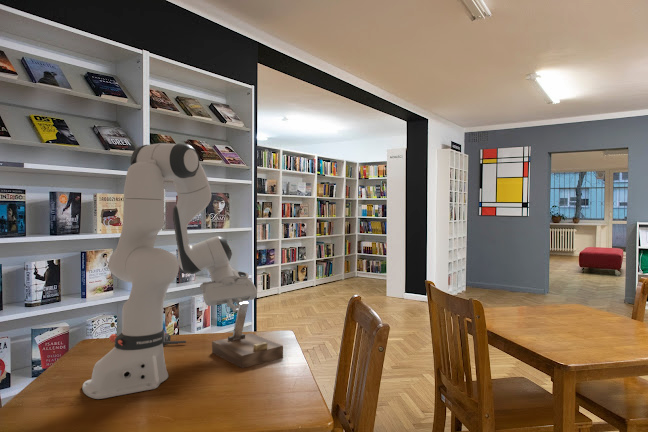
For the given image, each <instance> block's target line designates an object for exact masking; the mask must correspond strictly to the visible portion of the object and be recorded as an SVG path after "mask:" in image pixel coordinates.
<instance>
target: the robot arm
mask: <svg viewBox="0 0 648 432" xmlns="http://www.w3.org/2000/svg"><path fill="white" fill-rule="evenodd" d="M208 179H209V178H208V177H207V174H206V172H205V168H203V166H202V163H201V162H200V156H199V154H198V152H197V150H196V149H195V148H194V147H193V146H192V145H191V144H187V143H181V142H180V143H167V142H166V143H165V142H159V143H152V144H143V145H140V146H139V147H136V148H134V149H133V151H132V153H131V156H130V166H129V167H128V169H127V172H126V176H125V182H124V188H123V210H122V211H123V214H122V227H121V233H120V236H119V239H118V243H117V245H116V248H115V250H114V251H113V252H112V253H111V255H110V257H109V259H108V268H109V271H110V273H111V274H112V275H113V276H115V277H116V278H117V279H119V280H121V281H122V282H124V283H125V282H127V283H131V290H130V293H129V297H128V299H127V301H125V302H124V303H123V304H122V310H121V311H122V312H121V328H122V329H121V332H120V333H119V334H118V335H117V334H116V333H112V334H110V336H109V340H110V341H111V342H112V343H114V347H113V348H112V349H111V350H110V351H108V352H107V353H106V354H105V355H104V356H103V357H101V359H99V360H98V361H96V363H95V364H94V366H93V369H92V372H91V373H92V374H91V379H88V380H85V381H84V382H83V384H82V392H83V393H84V394H85V395H86V397H89V398H92V399H96V400H100V399H101V400H102V399H107V398H112V397H116V396H117V397H118V396H123V395H128V394H133V393H138V392H143V391H149V390H155V389H157V388H159V386H160V385H161V383H164V381H166V380H167V379H168V378H169V372H168V371H167V366H166V361H165V354H164V353H165V352H164V348H165V345H164V342H165V335H164V332H165V329H164V305H165V304H164V303H165V298H166V295H167V291H168V290H169V288H170V285H171V284H172V283H173V282H174V281H175V280H176V278H177V277H178V274H179V271H180V270H182V271H183V273H186V274H189V275H195V274H196V273H199V272H201V271H203V270H205V269H206V270H207V272H208V273H209V276H210V280H211V281H204V282H202V283H200V285H199V288H200V290H201V292H202V296H203V300H204V304H205V305H206V306H207V307H212V306H219V305H223V304H224V305H225V304H226V305H227V306H228V308H230V309H231V310H232V312H233V313H237V312H238V308H239V303H242V302H247V301H252V300H253V301H254V300H255V299H256V297H257V295H258V290H257V288H256V286H255V284H254V282H253V281H252V280H251V279H250V278H249V273H248V272H245V271H241V270H236V269H234V268H233V267H232V266H231V264H230V261H231V259H232V256H233V252H232V250H231V248H230V246H229V243H228V241H227V239H226V238H225V237H222V236H221V235H216V236H213V237H210V238H207V239H205V240H202V241H200V242H197V243H195V244H190V241H189V234H188V226H189V224H190V223H191V221H192V220H193V219H194V218H195V217H197V216H198V215H199V214H200V213H202V212H203V211H204V210H205V209H206V208H207V207H208V206H209V204H210V202H211V200H212V197H213V196H212V189H211V186H210V182H209V180H208ZM166 180H172V182H173V185H174V188H175V189H174V190H175V191H176V194H177V200H176V205H174V207H173V208H172V220H173V227H174V234H175V239H176V240H175V241H176V246H177V256H176V255H175V254H173V253H172V252H169V251H168V250H166V249H164V248H159V247H154V246H155V242H156V238H157V236H158V234H159V233H160V231H161V230H162V229H163V228H164V223H165V187H164V182H165V181H166ZM234 303H235V304H236V305H235V304H234Z"/></svg>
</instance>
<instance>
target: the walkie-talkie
mask: <svg viewBox="0 0 648 432" xmlns="http://www.w3.org/2000/svg"><path fill="white" fill-rule="evenodd" d="M164 335H165V342H164V346H166V345H177V344H187V341H186V340H171V335H170V334H169V333H167V332H166V331H164Z"/></svg>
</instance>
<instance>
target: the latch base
mask: <svg viewBox="0 0 648 432" xmlns="http://www.w3.org/2000/svg"><path fill="white" fill-rule="evenodd" d="M232 336H233V335H231V336H228V337H227V338H221V339H217V340H212V342H211V347H212V348H211V353H212V354H214V355H216V356H218V357H219V358H222V359H224V360H225V361H227V362H228V363H229V362H230V363H231V364H233V365H235V366H237V367H238V368H241V369H245V368H248V367H252V366H257V365H259V364H263V363H267V362H271V361H274V360H279V359H282V358H284V345H282V344H280V343H276V342H275V341H272V340H269V339H267V338H265V337H261V336H260V335H256V334H254V333H252V332H251V333H247V334H245V333H242V336H241V338H238V339H233V337H232Z"/></svg>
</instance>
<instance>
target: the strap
mask: <svg viewBox="0 0 648 432" xmlns="http://www.w3.org/2000/svg"><path fill="white" fill-rule="evenodd" d="M248 308H249V302H248V301H242V302H241V303H239V308H238V312H236V319H235V324H234V326H233V332H232V335H231V336H232V337H233V339H238V338H241V336H242V334H243V331H244V325H245V321H246V316H247V311H248Z"/></svg>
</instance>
